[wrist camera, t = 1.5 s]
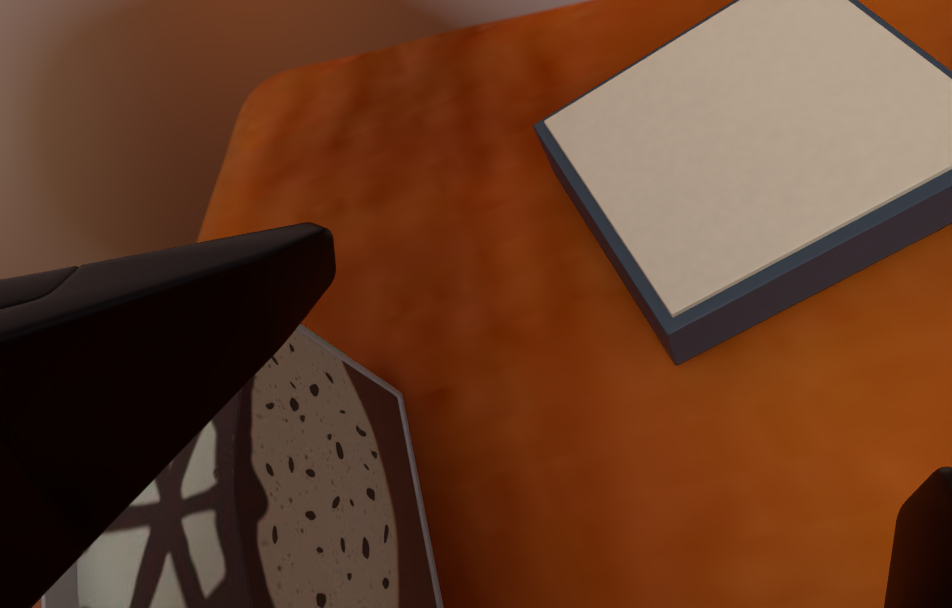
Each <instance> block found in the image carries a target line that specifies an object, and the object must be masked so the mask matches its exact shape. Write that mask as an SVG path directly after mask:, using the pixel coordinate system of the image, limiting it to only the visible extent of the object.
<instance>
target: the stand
mask: <svg viewBox="0 0 952 608" xmlns="http://www.w3.org/2000/svg"><path fill="white" fill-rule="evenodd" d="M533 127H534V129H535V132H536V134H537V136H538V138H539V140H540V142H541V145H542V147H543V149H544V151H545V153H546V156H547V158H548V160H549V162H550V164H551V167H552V169H553V171H554V173H555V174H556V176H557V178H558V179H559V181H560V182H561V184H562V186H563V187H564V189H565V190H566V192H567V194H568V195H569V197H570V198H571V200H572V201H573V203H574V205H575V206H576V208H577V209H578V211H579V213H580V214H581V216H582V217H583V219H584V221H585V222H586V224H587V225H588V227H589V228H590V230H591V232H592V233H593V235H594V236H595V238H596V240H597V241H598V243H599V244H600V246H601V248H602V249H603V251H604V252H605V254H606V255H607V257H608V259H609V260H610V262H611V263H612V265H613V267H614V268H615V270H616V271H617V273H618V275H619V276H620V278H621V279H622V281H623V282H624V284H625V286H626V287H627V289H628V290H629V292H630V294H631V295H632V297H633V298H634V300H635V301H636V303H637V305H638V306H639V308H640V309H641V311H642V313H643V314H644V316H645V317H646V319H647V321H648V322H649V324H650V325H651V327H652V328H653V330H654V332H655V333H656V335H657V336H658V338H659V340H660V341H661V343H662V344H663V346H664V348H665V349H666V351H667V352H668V354H669V355H670V357H671V359H672V360H673V362H674V363H675V365H678V364H680V363H682V362H684V361H686V360H688V359H690V358H692V357H694V356H696V355H698V354H700V353H702V352H704V351H705V350H707V349H709V348H711V347H713V346H715V345H717V344H719V343H721V342H723V341H725V340H727V339H729V338H731V337H733V336H734V335H736V334H738V333H740V332H742V331H744V330H746V329H748V328H750V327H752V326H754V325H756V324H758V323H760V322H761V321H763V320H765V319H767V318H769V317H771V316H773V315H775V314H777V313H779V312H781V311H783V310H785V309H787V308H789V307H790V306H792V305H794V304H796V303H798V302H800V301H802V300H804V299H806V298H808V297H810V296H812V295H814V294H816V293H818V292H819V291H821V290H823V289H825V288H827V287H829V286H831V285H833V284H835V283H837V282H839V281H841V280H843V279H845V278H847V277H848V276H850V275H852V274H854V273H856V272H858V271H860V270H862V269H864V268H866V267H868V266H870V265H872V264H874V263H875V262H877V261H879V260H881V259H883V258H885V257H887V256H889V255H891V254H893V253H895V252H897V251H899V250H901V249H903V248H904V247H906V246H908V245H910V244H912V243H914V242H916V241H918V240H920V239H922V238H924V237H926V236H928V235H930V234H932V233H933V232H935V231H937V230H939V229H941V228H943V227H945V226H947V225H949V224H951V223H952V71H950V70H949V69H948V68H946V67H945V66H944V65H942V64H941V63H940V62H938V61H937V60H936V59H934V58H933V57H932V56H930V55H929V54H928V53H926V52H925V51H924V50H922V49H921V48H920V47H918V46H917V45H916V44H914V43H913V42H912V41H910V40H909V39H908V38H906V37H905V36H904V35H902V34H901V33H900V32H898V31H897V30H896V29H895V28H893V27H892V26H891V25H889V24H888V23H887V22H885V21H884V20H883V19H881V18H880V17H879V16H877V15H876V14H875V13H873V12H872V11H871V10H869V9H868V8H867V7H865V6H864V5H863V4H861V3H860V2H859V1H857V0H735V1H733V2H732V3H730V4H728V5H727V6H725V7H723V8H722V9H720V10H719V11H717V12H715V13H714V14H712V15H711V16H709V17H707V18H706V19H704V20H702V21H701V22H699V23H698V24H696V25H694V26H693V27H691V28H690V29H688V30H686V31H685V32H683V33H681V34H680V35H678V36H677V37H675V38H673V39H672V40H670V41H668V42H667V43H665V44H664V45H662V46H660V47H659V48H657V49H656V50H654V51H652V52H651V53H649V54H647V55H646V56H644V57H643V58H641V59H639V60H638V61H636V62H635V63H633V64H631V65H630V66H628V67H626V68H625V69H623V70H622V71H620V72H618V73H617V74H615V75H614V76H612V77H610V78H609V79H607V80H605V81H604V82H602V83H601V84H599V85H597V86H596V87H594V88H593V89H591V90H589V91H588V92H586V93H584V94H583V95H581V96H580V97H578V98H576V99H575V100H573V101H572V102H570V103H568V104H567V105H565V106H563V107H562V108H560V109H559V110H557V111H555V112H554V113H552V114H551V115H549V116H547V117H546V118H544V119H542V120H541V121H539V122H538V123H536V124H534V125H533Z"/></svg>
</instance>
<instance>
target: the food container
mask: <svg viewBox="0 0 952 608" xmlns="http://www.w3.org/2000/svg"><path fill="white" fill-rule="evenodd" d="M42 608H444V607H443V601H442V596H441V591H440V586H439V581H438V576H437V570H436V565H435V560H434V555H433V550H432V544H431V539H430V534H429V529H428V524H427V519H426V513H425V508H424V503H423V498H422V493H421V488H420V482H419V477H418V472H417V467H416V462H415V456H414V451H413V446H412V441H411V436H410V431H409V425H408V420H407V415H406V410H405V405H404V400H403V394H402V392H400V391H399V390H397V389H396V388H394V387H393V386H391V385H390V384H388V383H387V382H385V381H384V380H382V379H381V378H380V377H378V376H377V375H375V374H374V373H372V372H371V371H369V370H368V369H366V368H365V367H363V366H362V365H360V364H359V363H357V362H356V361H355V360H353V359H352V358H350V357H349V356H347V355H346V354H344V353H343V352H341V351H340V350H338V349H337V348H335V347H334V346H332V345H331V344H330V343H328V342H327V341H325V340H324V339H322V338H321V337H319V336H318V335H316V334H315V333H313V332H312V331H310V330H309V329H307V328H306V327H305V326H303V325H302V324H300V325H299V326H298V327H297V328H296V330H295V331H294V332H293V334H292V335H291V336H290V337H289V338H288V340H287V341H286V342H285V343H284V345H283V346H282V347H281V348H280V349H279V350H278V351H277V352H276V353H275V355H274V356H273V357H272V358H271V359H270V360H269V361H268V362H267V363H266V364H265V365H264V366H263V367H262V368H261V369H260V370H259V371H258V372H257V373H256V374H255V375H254V377H253V378H252V379H251V380H250V381H249V382H248V383H247V384H246V385H245V386H244V387H243V388H242V389H241V390H240V391H239V392H238V393H237V394H236V395H235V396H234V397H233V398H232V399H231V400H230V401H229V402H228V404H227V405H226V406H225V407H224V408H223V409H222V410H221V411H220V412H219V413H218V414H217V415H216V416H215V417H214V418H213V419H212V420H211V421H210V422H209V423H208V424H207V425H206V426H205V427H204V428H203V430H202V431H201V432H200V433H199V434H198V435H197V436H196V437H195V438H194V439H193V440H192V441H191V442H190V443H189V444H188V445H187V446H186V447H185V448H184V449H183V450H182V451H181V452H180V453H179V454H178V456H177V457H176V458H175V459H174V460H173V461H172V462H171V463H170V464H169V465H168V466H167V467H166V468H165V469H164V470H163V471H162V472H161V473H160V474H159V475H158V476H157V477H156V478H155V479H154V480H153V482H152V483H151V484H150V485H149V486H148V487H147V488H146V489H145V490H144V491H143V492H142V493H141V494H140V495H139V496H138V497H137V498H136V499H135V500H134V501H133V502H132V503H131V504H130V505H129V506H128V507H127V509H126V510H125V511H124V512H123V513H122V514H121V515H120V516H119V517H118V518H117V519H116V520H115V521H114V522H113V523H112V524H111V525H110V526H109V527H108V528H107V529H106V530H105V531H104V532H103V533H102V535H101V536H100V537H99V538H98V539H97V540H96V541H95V542H94V543H93V544H92V545H91V546H90V547H89V548H88V549H87V550H86V551H84V552H83V555H82V556H81V557H80V558H79V559H78V560H77V561H76V562H75V563H74V564H73V565H72V566H71V567H70V568H69V569H68V570H67V571H66V572H65V573H64V575H63V576H62V577H61V578H60V579H59V580H58V581H57V582H56V583H55V584H54V585H53V586H52V587H51V588H50V589H49V590H48V591H47V592H46V593H45V594H44V595H43V596H42Z"/></svg>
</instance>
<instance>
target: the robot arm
mask: <svg viewBox="0 0 952 608" xmlns="http://www.w3.org/2000/svg"><path fill="white" fill-rule="evenodd" d="M335 273H336V263H335V251H334V240H333V235H332V233H331V231H330V230H328V229H327V228H324V227H322V226H319V225H317V224H314V223H310V222H306V223H300V224H295V225H290V226H284V227H279V228H274V229H268V230H263V231H258V232H253V233H247V234H242V235H237V236H232V237H226V238H221V239H216V240H210V241H205V242H200V243H195V244H189V245H185V246H179V247H174V248H169V249H163V250H158V251H153V252H147V253H142V254H137V255H131V256H126V257H121V258H116V259H111V260H105V261H100V262H95V263H89V264H85V265H81V266H80V267H77V266H73V267H68V268H63V269H57V270H52V271H47V272H41V273H35V274H30V275H24V276H18V277H12V278H7V279H0V608H32V607H33V606H34V605H35V604H36V603H37V602H38V600H39V599H40V598H41V597H42V596H43V595H44V594H45V593H46V592H47V591H48V590H49V589H50V588H51V587H52V586H53V585H54V584H55V583H56V582H57V581H58V580H59V579H60V578H61V577H62V576H63V575H64V573H65V572H66V571H67V570H68V569H69V568H70V567H71V566H72V565H73V564H74V563H75V562H76V561H77V560H78V559H79V558H80V557H81V556H82V555H83V552H84V551H86V550H87V549H88V548H89V547H90V546H91V545H92V544H93V543H94V542H95V541H96V540H97V539H98V538H99V537H100V536H101V535H102V533H103V532H104V531H105V530H106V529H107V528H108V527H109V526H110V525H111V524H112V523H113V522H114V521H115V520H116V519H117V518H118V517H119V516H120V515H121V514H122V513H123V512H124V511H125V510H126V509H127V507H128V506H129V505H130V504H131V503H132V502H133V501H134V500H135V499H136V498H137V497H138V496H139V495H140V494H141V493H142V492H143V491H144V490H145V489H146V488H147V487H148V486H149V485H150V484H151V483H152V482H153V480H154V479H155V478H156V477H157V476H158V475H159V474H160V473H161V472H162V471H163V470H164V469H165V468H166V467H167V466H168V465H169V464H170V463H171V462H172V461H173V460H174V459H175V458H176V457H177V456H178V454H179V453H180V452H181V451H182V450H183V449H184V448H185V447H186V446H187V445H188V444H189V443H190V442H191V441H192V440H193V439H194V438H195V437H196V436H197V435H198V434H199V433H200V432H201V431H202V430H203V428H204V427H205V426H206V425H207V424H208V423H209V422H210V421H211V420H212V419H213V418H214V417H215V416H216V415H217V414H218V413H219V412H220V411H221V410H222V409H223V408H224V407H225V406H226V405H227V404H228V402H229V401H230V400H231V399H232V398H233V397H234V396H235V395H236V394H237V393H238V392H239V391H240V390H241V389H242V388H243V387H244V386H245V385H246V384H247V383H248V382H249V381H250V380H251V379H252V378H253V377H254V375H255V374H256V373H257V372H258V371H259V370H260V369H261V368H262V367H263V366H264V365H265V364H266V363H267V362H268V361H269V360H270V359H271V358H272V357H273V356H274V355H275V353H276V352H277V351H278V350H279V349H280V348H281V347H282V346H283V345H284V343H285V342H286V341H287V340H288V338H289V337H290V336H291V335H292V334H293V332H294V331H295V330H296V328H297V327H298V326H299V325H300V323H301V322H302V321H303V319H304V318H305V317H306V316H307V314H308V313H309V312H310V310H311V309H312V308H313V307H314V305H315V304H316V303H317V301H318V300H319V299H320V298H321V296H322V295H323V294H324V292H325V291H326V290H327V289H328V287H329V286H330V285H331V283H332V281H333V279H334V277H335ZM884 608H952V468H951V467H941V468H939V469H937V470H936V471H935V472H933V473H932V474H931V475H930V477H929V478H928V479H927V480H926V481H925V482H924V483H923V484H922V485H921V486H920V487H919V488H918V489H917V490H916V491H915V492H914V493H913V494H912V495H911V496H910V497H909V498H908V499H907V500H906V501H905V503H904V504H903V505H902V507H901V509H900V511H899V513H898V516H897V520H896V527H895V534H894V541H893V548H892V555H891V562H890V569H889V576H888V583H887V590H886V597H885V604H884Z"/></svg>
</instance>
